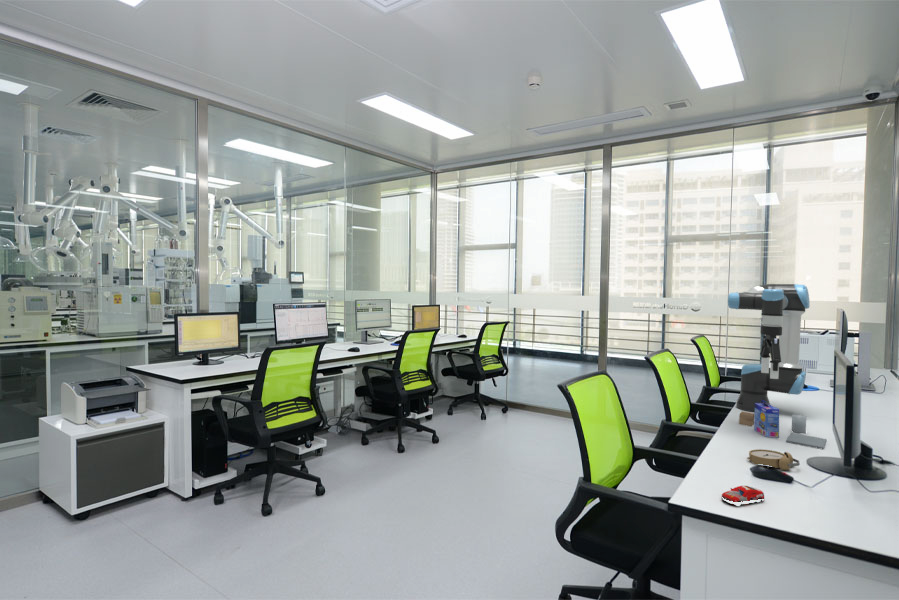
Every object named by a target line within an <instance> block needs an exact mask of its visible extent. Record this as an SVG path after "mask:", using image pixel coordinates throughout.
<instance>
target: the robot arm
mask: <svg viewBox="0 0 899 600" xmlns="http://www.w3.org/2000/svg"><path fill="white" fill-rule="evenodd" d="M809 296H810V294H809V290H808V287H807V286H806V285H805V284H798V283H795V284H794V283H790V284H789V283H788V284H787V283H766V284H761V285H760V284H759V285H757V286H753V287H751V288H750V289H748V290H747V291H743V292H737V291H736V292H730V293H729V294H728V297H727V307H728V308H729V309H733V310H734V309H735V310H751V311H752V310H755V311H761V313H760V315H761V316H760V317H759V320H760V322H761V323H760V324H761V326H760V335H762V343H761V349H760V353H759V355H760V357H761V360H760V361H761V363H749V364H748V363H747V364H744V365H743V366H742V367H741V373H740V393H739V395H738V398H737V400H736V402H735V403H736V404H735V405H736V406H735V407H736V408H737V409H739V410H743V411H745V412H747V411H748V412H750V413H752V412H753V413H755V403H762V401H761V400H763V401H766V402H767V404H769V405H771V403H770V399H769V396H768V392H773V393H774V392H775V393H782V394H788V395H800V394H802V392H803V389H804V386H805V382H806V375H807V373H806V372H805V371H804V370H803V367H802V365H800V362H799V361H800V348H801V347H800V344H801V343H800V342H801V326H802V325H801V323H802V316H803V315H804V313H806V309H809V308H810V297H809ZM777 337H778V338H777ZM770 359H771V360H770ZM764 403H765V402H764Z"/></svg>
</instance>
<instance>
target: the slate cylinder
mask: <svg viewBox="0 0 899 600" xmlns="http://www.w3.org/2000/svg"><path fill="white" fill-rule="evenodd" d="M806 428H807V416H805V415H803V414H792V415H791V430H792V431H793V432H792V431H791V432H792V433H795V432H796V434H800V433H805V434H806V431H807V429H806Z"/></svg>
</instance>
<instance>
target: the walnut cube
mask: <svg viewBox="0 0 899 600" xmlns="http://www.w3.org/2000/svg"><path fill="white" fill-rule="evenodd" d="M754 416H755V412H753V413H752V412H749V411H748V412H747V411H741V412H740V413H739V418H738V422H739V423H738V424H739V425H741V426H746V425H747V426H748V427H753V426H754Z"/></svg>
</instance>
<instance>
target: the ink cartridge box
mask: <svg viewBox="0 0 899 600" xmlns="http://www.w3.org/2000/svg"><path fill="white" fill-rule="evenodd" d="M761 401H762V403H755V412H754V425H753V426H754V428H753V429H754V431H755V432H756V433H759V434H760V435H761V436H763V437H764V438H776V439H777V438H780V409H779V408H777V407H776V406H773V405H772V404H770V405H769V404H767V402H766V401H763V400H761ZM764 402H765V403H764Z"/></svg>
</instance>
